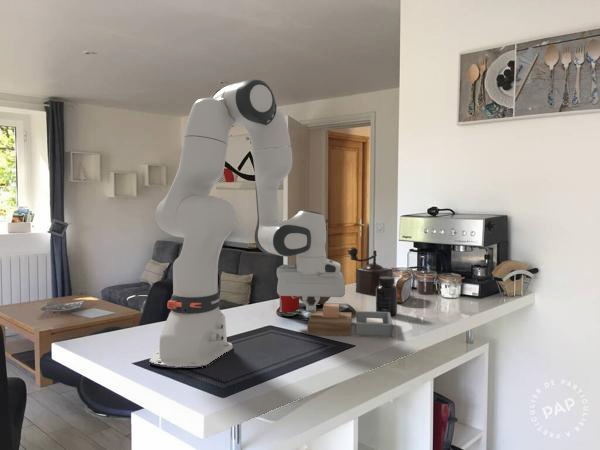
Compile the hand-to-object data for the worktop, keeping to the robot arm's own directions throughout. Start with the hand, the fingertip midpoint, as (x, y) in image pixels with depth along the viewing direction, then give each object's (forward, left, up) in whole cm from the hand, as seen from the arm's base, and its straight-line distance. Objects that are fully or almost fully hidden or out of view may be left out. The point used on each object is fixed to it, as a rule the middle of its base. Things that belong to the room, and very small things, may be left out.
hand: (311, 310), depth 148 cm
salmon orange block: (0, -6, -1) cm, 6 cm away
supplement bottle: (+15, -23, -4) cm, 28 cm away
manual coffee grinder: (+46, -18, -5) cm, 50 cm away
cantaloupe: (+23, +2, -4) cm, 24 cm away
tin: (+35, -30, -5) cm, 46 cm away
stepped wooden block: (-3, -6, -4) cm, 8 cm away
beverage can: (+10, +8, -4) cm, 14 cm away
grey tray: (-3, -18, -4) cm, 19 cm away
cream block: (-6, -19, -1) cm, 19 cm away
